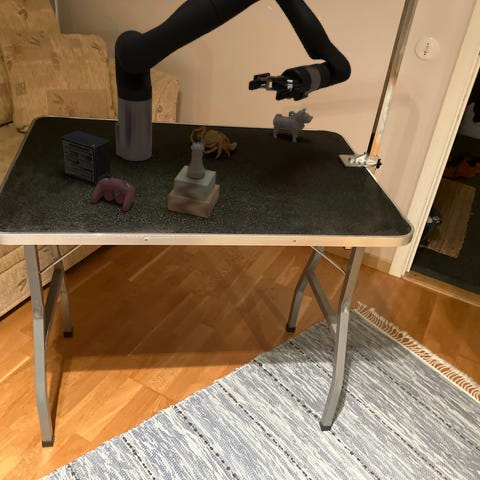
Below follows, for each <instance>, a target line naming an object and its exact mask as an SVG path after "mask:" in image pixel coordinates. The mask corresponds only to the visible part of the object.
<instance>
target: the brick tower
mask: <svg viewBox="0 0 480 480" xmlns="http://www.w3.org/2000/svg"><path fill="white" fill-rule="evenodd" d="M188 167H189V165H184V166H183V167H182V169H181V170H180V171H179V173H178V174H177V175H176V177H175V178H174V181H173V184H174V185H173V188H172V190H171V191H170V192H169V194H168V196H167V210H169V211H172V212H177V213H183V214H187V215H190V216H196V217H200V218H205V219H208V218H209V216H210V215H211V213H212V211H213V210H214V207H215V206H216V204H217V203H218V200H219V197H220V188H221V186H220V184H216V178H217V171H212V170H209V169H205V176H204V177H203V178H200V179H193V178H190V177H189V176H188V174H187V171H188V170H187V168H188Z"/></svg>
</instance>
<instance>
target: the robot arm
mask: <svg viewBox="0 0 480 480" xmlns="http://www.w3.org/2000/svg"><path fill="white" fill-rule="evenodd" d="M259 1H261V0H186V1H184V2H183V3H182V4H181V5H179V6H178V7H177V9H175V11H174V12H173V13H171V14H170V16H169V17H168V18H167V19H165V20H164V22H162V23H160V24H159V25H157V26H155V27H154V28H152V29H148V30H147V31H145V32H143V33H142V32H140V31H139V30H138V31H137V30H133V29H131V30H126V31H124V32H122V33H120V35H118V37H117V38H116V41H115V44H114V69H115V71H114V72H115V84H116V95H117V97H116V98H117V121H116V123H115V127H114V128H115V150H116V151H115V155H116V156H118V157H120V158H122V159H124V160H125V161H131V162H142V161H146V160H149V159H150V158H151V157H152V156H153V155H152V153H153V147H152V146H153V145H152V144H153V143H152V142H153V140H152V139H153V85H152V78H151V77H152V76H151V69H153V68H154V67H156V66H157V65H158V64H160V62H162V61H163V60H164V59H166V58H167V57H169V56H171V54H173V53H174V52H177V50H180V49H181V48H183V47H186V46H187V45H190V44H191V43H193V42H195V41H196V40H198V39H200V38H202V37H204V36H205V35H208V34H209V33H211V32H212V31H214V30H216V29H218V28H220V27H221V26H223V25H224V24H226V23H228V22H229V21H231V20H232V19H234V18H235V17H237V16H239V15H240V14H241V13H243V12H244V11H246V10H247V9H248V8H249V7H251V6H252V5H254V4H256V3H258V2H259ZM274 1H275V2H276V4H277V5H278V6H279V8H280V9H281V11H282V12H283V14H284V16H285V17H286V19H287V21H288V22H289V23H290V26H291V27H292V29H293V30H294V33H295V34H296V36H297V37H298V39H299V42H300V43H301V44H302V46H303V48H304V50H305V52H306V54H307V56H308V58H310V59H311V60H312V61H319V60H320V61H324V62H321V63H320V62H319V63H318V62H317V63H312V64H311V63H310V64H305V65H304V64H303V65H299V66H295V67H290V68H287V69H285V70H284V71H283V72H281V74H278V75H276V76H274V75H271V73H270V72H264V73H259V74H254V75H253V80H250V81H248V87H247V89H248V90H249V91H255V90H259V89H265V90H266V91H270V92H276V94H275V100H276V101H278V102H279V101H283V100H286V99H287V100H292V99H293V101H294V102H298V101H302V100H304V99H307V98H308V97H309V94H311V93H313V92H316V91H319V90H322V89H325V88H329V87H332V86H335V85H338V84H342V83H345V82H347V81H348V80H349V79H350V78H351V75H352V67H351V63H350V61H349V60H348V58H347V57H346V55H344V54H343V53H342V51H340V50H339V48H338V47H336V46H335V44H334V43H333V42H332V41H331V39H330V38H329V35H328V33H327V31H326V30H325V28H324V27H323V24H322V23H321V21H320V20H319V18H318V17H317V15H316V14H315V12H313V10H312V9H311V8H310V6H309V5H308V4H307V3H306V1H305V0H274ZM270 83H271V87H270Z"/></svg>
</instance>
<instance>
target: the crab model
mask: <svg viewBox="0 0 480 480" xmlns="http://www.w3.org/2000/svg"><path fill="white" fill-rule="evenodd" d="M195 135H196V138H197V140H198V141H199V144H200V143H202V144H203V147H204V148H205V149H204V150H203V152H202V153H203V154H206V155H207V154H211V153H213V152H214V151H216V150H217V154H216V155H215V157H214V159H215V160H217V159H218V158H219V157H220V156H221V154H222V151H224V152H225V153H226V154H227V157H228V158H230V156H231V153H230V151H234V150H235V149H236V148H237V145H238V143H237V142H235V141H234V142H233V143H230V139H229V138H228V137H227V135H225V134H224V133H222V132H219V131H218V130H213V129H210V130H207V127H206V126H205V125H202V126H200V127H199V128H195V129H193V130H192V131H191V135H190V136H189V140H190V142H191V143H192V144H194V142H195V140H194V136H195ZM208 148H209V149H208ZM206 149H207V150H206ZM222 149H223V150H222Z"/></svg>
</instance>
